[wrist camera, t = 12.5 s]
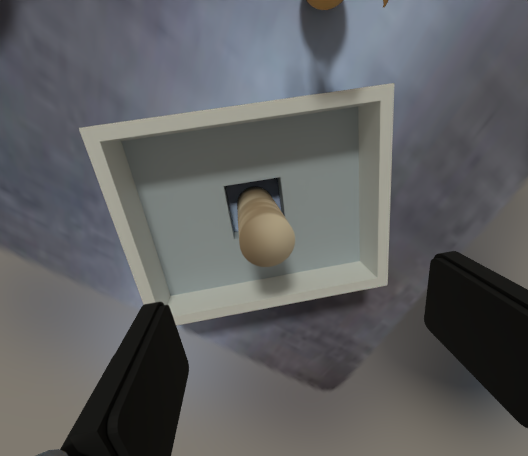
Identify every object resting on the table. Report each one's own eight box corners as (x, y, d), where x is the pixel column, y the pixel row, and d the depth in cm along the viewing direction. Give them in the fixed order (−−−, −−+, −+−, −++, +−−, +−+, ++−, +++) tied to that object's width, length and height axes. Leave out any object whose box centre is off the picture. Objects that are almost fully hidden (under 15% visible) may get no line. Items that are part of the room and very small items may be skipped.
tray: (358, 95, 23) (394, 83, 18) (360, 259, 29) (387, 285, 24) (115, 130, 22) (78, 128, 17) (168, 294, 28) (153, 329, 23)
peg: (270, 184, 25) (292, 210, 16) (274, 218, 26) (297, 261, 17) (234, 189, 25) (234, 220, 15) (240, 223, 26) (244, 271, 17)
